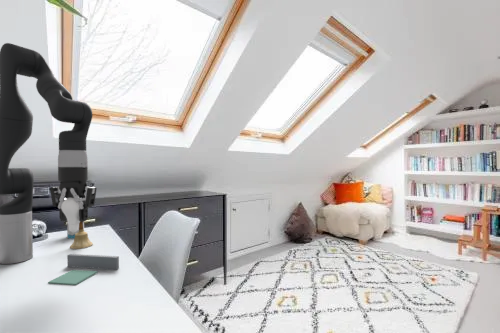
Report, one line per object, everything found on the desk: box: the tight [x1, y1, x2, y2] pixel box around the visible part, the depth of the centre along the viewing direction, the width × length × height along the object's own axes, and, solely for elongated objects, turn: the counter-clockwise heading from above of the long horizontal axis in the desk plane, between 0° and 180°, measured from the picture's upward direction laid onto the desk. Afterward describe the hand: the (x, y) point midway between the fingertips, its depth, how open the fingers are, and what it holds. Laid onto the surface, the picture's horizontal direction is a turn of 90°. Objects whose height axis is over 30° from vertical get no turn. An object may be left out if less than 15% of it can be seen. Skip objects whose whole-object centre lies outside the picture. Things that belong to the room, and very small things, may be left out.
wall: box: [66, 253, 120, 271], centre depth 90 cm, size 18×1×4 cm, turn 82°
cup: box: [66, 221, 85, 239], centre depth 129 cm, size 7×7×15 cm
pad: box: [47, 269, 99, 286], centre depth 82 cm, size 9×9×1 cm
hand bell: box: [69, 222, 94, 250], centre depth 114 cm, size 8×8×16 cm
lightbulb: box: [61, 198, 84, 232], centre depth 82 cm, size 6×6×11 cm
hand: (73, 220), depth 82 cm, fingers closed on lightbulb, 5 cm apart
